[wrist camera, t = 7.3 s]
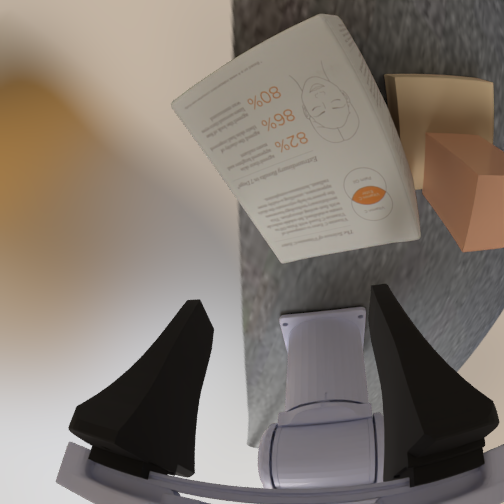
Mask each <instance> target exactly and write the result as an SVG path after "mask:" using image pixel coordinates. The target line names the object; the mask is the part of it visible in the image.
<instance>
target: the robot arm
mask: <svg viewBox="0 0 504 504" xmlns="http://www.w3.org/2000/svg"><path fill="white" fill-rule="evenodd" d="M368 319H369V327H370V335H371V342H372V346H373V351H374V355H375V360H376V364H377V369H378V374H379V379H380V384H381V390H382V399H383V413H384V416H383V415H382V414H381V413H380V412H378V413H373V419H372V408H371V403H369V401H368V391H367V381H366V372H365V364H364V356H363V344H364V333H365V320H366V310H365V308H364V307H354V308H346V309H338V310H329V311H319V312H309V313H299V314H287V315H281V316H280V317H279V322H280V326H281V330H282V334H283V337H284V341H285V345H286V349H287V352H288V363H287V382H286V399H285V412H280V413H279V415H278V423H273V424H271V425H270V426H269V427H268V428H267V430H266V431H265V432H264V433H263V435H262V437H261V441H260V445H259V452H258V470H259V476H260V479H261V482H262V483H263V487H264V488H249V487H237V486H227V485H220V484H212V483H205V482H200V481H194V480H188V479H182V478H178V477H173V476H169V475H167V474H170V475H178V476H183V477H190V476H192V475H193V474H194V473H195V470H194V466H195V465H194V464H195V461H194V459H195V458H194V456H195V452H194V451H195V434H196V423H197V413H198V406H199V399H200V394H201V389H202V385H203V381H204V377H205V374H206V370H207V366H208V362H209V358H210V354H211V350H212V342H213V333H214V328H213V326H212V324H211V322H210V320H209V318H208V316H207V313H206V311H205V309H204V307H203V305H202V303H201V301H200V300H187V301H186V303H185V304H184V305H183V306H182V308H181V309H180V310H179V312H178V313H177V314H176V316H175V317H174V318H173V319H172V321H171V322H170V323H169V325H168V326H167V327H166V328H165V330H164V331H163V332H162V333H161V335H160V336H159V337H158V339H157V340H156V341H155V342H154V343H153V344H152V345H151V347H150V348H149V349H148V350H147V351H146V352H145V354H144V355H143V356H142V357H141V358H140V359H139V360H138V361H137V362H136V363H135V364H134V365H133V366H132V367H131V368H130V369H129V370H128V371H126V372H125V373H124V374H123V375H122V376H120V377H119V378H118V379H117V380H116V381H115V382H113V383H112V384H111V385H110V386H108V387H107V388H105V389H104V390H102V391H101V392H100V393H98V394H97V395H95V396H94V397H92V398H90V399H89V400H87V401H85V402H83V403H82V404H80V405H78V406H77V407H76V410H75V412H74V415H73V417H72V420H71V422H70V425H69V430H70V432H72V433H73V434H74V435H76V436H77V437H79V438H80V439H82V440H84V441H85V442H87V443H89V444H90V445H92V449H91V450H89V449H87V448H85V447H82V446H80V445H77V444H75V443H72V442H69V444H68V446H67V449H66V452H65V455H64V458H63V461H62V464H61V467H60V470H59V473H58V476H57V479H56V482H57V483H58V484H60V485H62V486H63V487H65V488H67V489H69V490H70V491H72V492H74V493H76V494H78V495H80V496H81V497H83V498H85V499H87V500H89V501H91V502H93V503H95V504H209V503H204V502H201V501H199V500H193V499H189V498H185V497H181V496H180V494H179V493H178V492H180V493H185V494H190V495H195V496H200V497H206V498H212V499H219V500H226V501H235V502H244V503H256V504H500V503H502V502H504V444H503V445H501V446H498V447H496V448H494V449H491V450H489V451H487V452H485V453H483V449H482V447H484V446H485V440H484V437H486V436H487V435H488V434H489V433H491V432H492V431H493V430H494V429H495V428H496V427H497V426H498V424H499V419H498V414H497V411H496V408H495V405H494V403H493V401H492V400H491V399H489V398H488V397H486V396H485V395H484V394H482V393H481V392H479V391H478V390H477V389H475V388H474V387H473V386H472V385H471V384H469V383H468V382H467V381H466V380H465V379H464V378H462V377H461V376H460V375H459V374H458V373H457V372H456V371H455V370H454V369H453V368H452V367H450V366H449V365H448V364H447V363H446V362H445V360H444V359H443V358H442V357H441V356H440V355H439V354H438V353H437V352H436V351H435V350H434V349H433V348H432V346H431V345H430V344H429V343H428V342H427V340H426V339H425V338H424V337H423V335H422V334H421V333H420V332H419V330H418V329H417V328H416V327H415V325H414V324H413V322H412V321H411V320H410V318H409V317H408V316H407V314H406V313H405V311H404V310H403V308H402V307H401V305H400V304H399V302H398V301H397V299H396V298H395V296H394V295H393V293H392V292H391V290H390V288H389V287H388V285H387V284H380V285H371V297H370V307H369V317H368Z"/></svg>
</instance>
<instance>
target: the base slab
mask: <svg viewBox="0 0 504 504" xmlns="http://www.w3.org/2000/svg"><path fill="white" fill-rule="evenodd" d="M384 79H385V86H386V94H387V103H388V110H389V112H390V115H391V118H392V120H393V123H394V126H395V128H396V131H397V133H398V136H399V139H400V141H401V144H402V147H403V150H404V152H405V155H406V158H407V161H408V164H409V167H410V170H411V173H412V176H413V181H414V187H415V190H417V189H423V179H424V163H425V133H454V134H471V135H479V136H481V137H482V138H484V139H485V140H487V141H488V142H490V143H491V144H493V130H494V93H493V83H492V82H489V81H486V80H482V79H479V78H474V77H464V76H452V75H436V74H384Z"/></svg>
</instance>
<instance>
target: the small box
mask: <svg viewBox="0 0 504 504" xmlns="http://www.w3.org/2000/svg"><path fill="white" fill-rule="evenodd" d="M171 106H172V109H173V110H174V112H175V113H176V114H177V116H178V117H179V119H180V120H181V121H182V122H183V124H184V125H185V127H186V128H187V129H188V131H189V132H190V134H191V135H192V136H193V138H194V139H195V141H196V142H197V143H198V145H199V146H200V147H201V149H202V150H203V152H204V153H205V154H206V156H207V157H208V159H209V160H210V161H211V163H212V164H213V166H214V167H215V169H216V170H217V171H218V173H219V174H220V176H221V177H222V178H223V180H224V181H225V182H226V184H227V185H228V187H229V188H230V190H231V191H232V193H233V194H234V195H235V197H236V198H237V200H238V201H239V203H240V204H241V205H242V207H243V208H244V210H245V211H246V213H247V214H248V215H249V217H250V218H251V220H252V221H253V223H254V224H255V226H256V227H257V229H258V230H259V231H260V233H261V234H262V236H263V237H264V239H265V240H266V242H267V243H268V244H269V246H270V247H271V249H272V250H273V252H274V253H275V255H276V256H277V258H278V259H279V261H280V262H281V263H287V262H293V261H296V260H300V259H305V258H310V257H316V256H321V255H326V254H332V253H337V252H343V251H349V250H355V249H360V248H366V247H371V246H377V245H383V244H388V243H394V242H407V241H413V240H418V239H420V237H421V233H420V223H419V214H418V207H417V200H416V193H415V187H414V181H413V176H412V173H411V170H410V167H409V164H408V161H407V158H406V155H405V152H404V150H403V147H402V144H401V141H400V139H399V136H398V133H397V131H396V128H395V126H394V123H393V120H392V118H391V115H390V112H389V110H388V108H387V105H386V103H385V101H384V99H383V97H382V95H381V93H380V91H379V88H378V86H377V84H376V82H375V80H374V78H373V76H372V74H371V72H370V70H369V68H368V66H367V64H366V62H365V60H364V58H363V56H362V54H361V52H360V51H359V49H358V47H357V45H356V44H355V42H354V40H353V38H352V37H351V35H350V33H349V32H348V30H347V28H346V27H345V25H344V23H343V22H342V20H341V19H340V18H339V17H338V16H336V15H328V14H318V15H316V16H314V17H311V18H309V19H307V20H305V21H303V22H300V23H298V24H296V25H294V26H292V27H290V28H288V29H286V30H284V31H282V32H280V33H279V34H277V35H275V36H273V37H271V38H269V39H267V40H265V41H264V42H262V43H260V44H258V45H256V46H255V47H253V48H251V49H250V50H248V51H246V52H244V53H243V54H241V55H239V56H238V57H236V58H235V59H233V60H231V61H230V62H228V63H227V64H225V65H224V66H222V67H221V68H219V69H218V70H216V71H215V72H213V73H212V74H210V75H209V76H207V77H206V78H204V79H203V80H201V81H200V82H198V83H197V84H195V85H194V86H193V87H191V88H190V89H189V90H187V91H186V92H185V93H183V94H182V95H181V96H179V97H178V98H177V99H175V100H174V101H173V102H172V103H171Z"/></svg>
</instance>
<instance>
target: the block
mask: <svg viewBox="0 0 504 504" xmlns="http://www.w3.org/2000/svg"><path fill="white" fill-rule="evenodd" d="M422 194H423V195H424V196H425V198H426V199H427V200H428V202H429V203H430V205H431V206H432V207H433V209H434V210H435V211H436V213H437V214H438V216H439V217H440V219H441V220H442V221H443V223H444V224H445V226H446V227H447V229H448V230H449V232H450V233H451V235H452V236H453V238H454V240H455V241H456V243H457V244H458V246H459V247H460V249H461V251H462V252H470V251H479V250H488V249H497V248H504V152H503V151H502V150H500V149H499V148H497V147H496V146H494V145H493V144H491V143H490V142H488V141H487V140H485V139H484V138H482V137H481V136H479V135H471V134H454V133H425V163H424V179H423V191H422Z"/></svg>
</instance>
